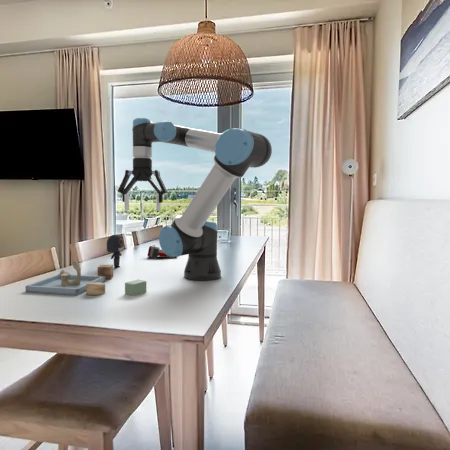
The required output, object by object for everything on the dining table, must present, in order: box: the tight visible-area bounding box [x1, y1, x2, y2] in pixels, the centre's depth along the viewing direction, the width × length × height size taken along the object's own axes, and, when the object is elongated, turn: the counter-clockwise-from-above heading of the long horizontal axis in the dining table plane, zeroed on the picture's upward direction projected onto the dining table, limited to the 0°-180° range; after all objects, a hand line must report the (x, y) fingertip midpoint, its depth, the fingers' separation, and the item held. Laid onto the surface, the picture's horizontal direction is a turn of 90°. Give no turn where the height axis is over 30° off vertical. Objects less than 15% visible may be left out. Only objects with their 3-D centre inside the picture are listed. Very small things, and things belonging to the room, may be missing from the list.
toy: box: [106, 234, 125, 269], centre depth 166 cm, size 9×8×15 cm
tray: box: [24, 273, 106, 296], centre depth 132 cm, size 19×19×2 cm
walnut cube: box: [96, 264, 114, 281], centre depth 146 cm, size 5×5×5 cm
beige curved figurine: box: [59, 260, 82, 287], centre depth 133 cm, size 9×6×10 cm
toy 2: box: [147, 244, 178, 259], centre depth 194 cm, size 9×6×15 cm
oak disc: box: [85, 282, 106, 296], centre depth 124 cm, size 6×6×3 cm
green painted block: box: [124, 278, 147, 297], centre depth 125 cm, size 4×6×4 cm, turn 147°
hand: (142, 210), depth 151 cm, fingers open, 13 cm apart
